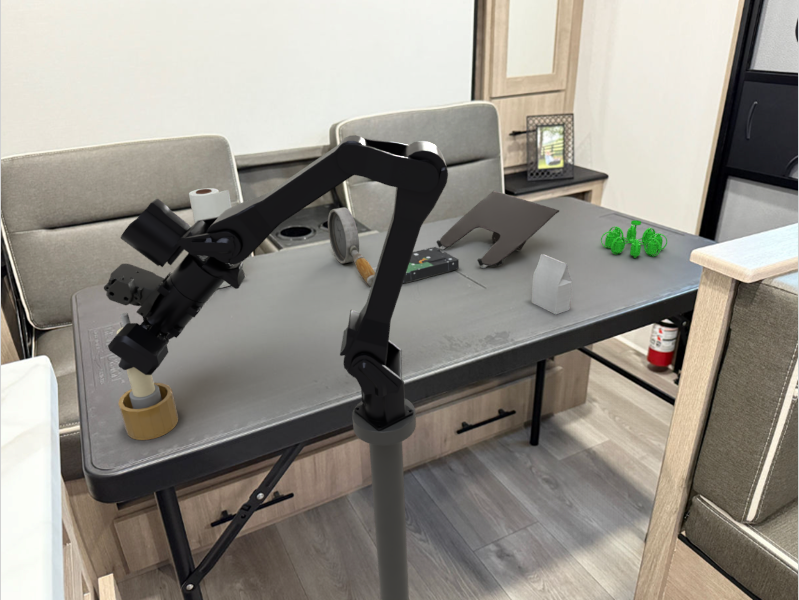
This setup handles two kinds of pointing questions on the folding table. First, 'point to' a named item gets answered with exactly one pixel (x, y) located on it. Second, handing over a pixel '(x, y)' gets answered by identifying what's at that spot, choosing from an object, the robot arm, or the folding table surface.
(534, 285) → the white gabled box
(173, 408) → the holder
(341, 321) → the folding table surface
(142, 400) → the kitchen roll stand
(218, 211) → the paper towel roll
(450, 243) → the laptop tray
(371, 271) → the magnifying glass
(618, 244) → the chandelier
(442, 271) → the disk drive
